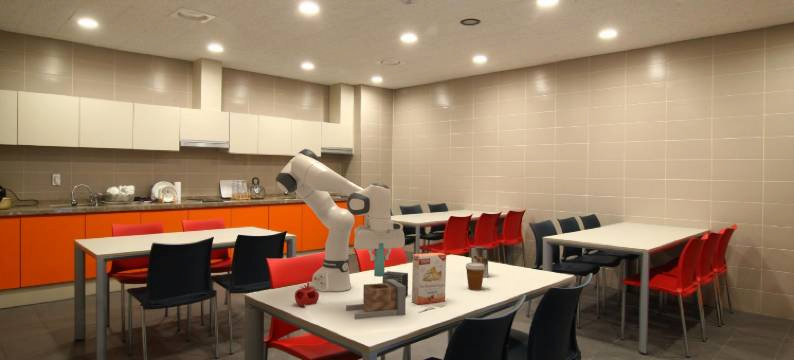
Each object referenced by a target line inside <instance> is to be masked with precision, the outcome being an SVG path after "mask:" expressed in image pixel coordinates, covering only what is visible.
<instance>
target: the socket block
mask: <svg viewBox="0 0 794 360" xmlns="http://www.w3.org/2000/svg"><path fill="white" fill-rule="evenodd" d="M362 297H363V299H362V300H363V301H362V304H363V309H362V310H363V311H364V312H374V311H385V310H395V309H396V288H395V287H393V286H391V285H390V284H388V283H383V282H382V283H368V284H363V295H362Z"/></svg>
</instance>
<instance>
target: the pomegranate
mask: <svg viewBox="0 0 794 360" xmlns="http://www.w3.org/2000/svg"><path fill="white" fill-rule="evenodd" d="M309 283H310V282H306V285H305V284H304V285H303V286H299V289H297V290H296V291H295V292H294V299H295V303H296V304H297V306H299V307H305V306H311V305H315V304H316V305H317V303H318V301H319V297H320V294H319V291H318V290H316V289H313V288H315V287H313V285H312V287H313V288H312V287H311V286H310V287H309Z"/></svg>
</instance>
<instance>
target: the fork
mask: <svg viewBox="0 0 794 360" xmlns="http://www.w3.org/2000/svg"><path fill="white" fill-rule="evenodd" d="M447 303H448V302H446V301H442V302H439V303H438V304H436V305H435V306H433V307H431V306H429V307H426V308H424V309H421V310H419V311H417V313H418V314H421V313H423V312H424V311H427V310H429V309H434V310H435V309H436V308H439V309H440V308H443V307H444V306H445V305H446V304H447Z"/></svg>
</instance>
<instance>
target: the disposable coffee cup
mask: <svg viewBox="0 0 794 360" xmlns="http://www.w3.org/2000/svg"><path fill="white" fill-rule="evenodd" d="M465 269H466V280H467V286H468V287H467V289H468V290H469V291H470V290H471V291H481V290H482V288H483V280H484V277H483V274H484V269H485V267H484V264H481V263H471V262H467V263H466V264H465Z"/></svg>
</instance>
